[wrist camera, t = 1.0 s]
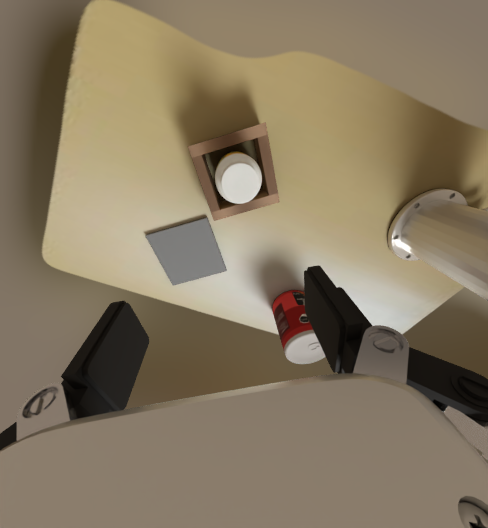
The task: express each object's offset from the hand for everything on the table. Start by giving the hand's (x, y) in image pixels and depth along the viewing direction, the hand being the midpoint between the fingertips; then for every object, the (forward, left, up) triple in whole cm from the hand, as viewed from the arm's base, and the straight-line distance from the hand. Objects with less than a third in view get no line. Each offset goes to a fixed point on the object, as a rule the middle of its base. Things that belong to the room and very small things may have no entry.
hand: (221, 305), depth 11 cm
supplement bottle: (-3, -3, -24) cm, 24 cm away
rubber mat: (+8, +7, -24) cm, 26 cm away
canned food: (-7, +24, -24) cm, 35 cm away
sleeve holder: (-3, -3, -24) cm, 24 cm away
